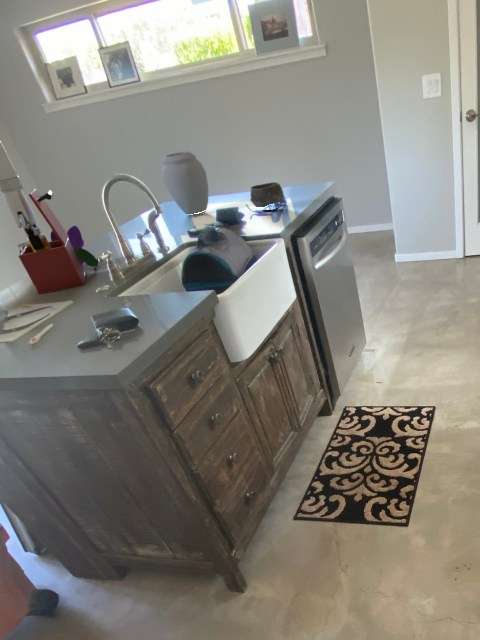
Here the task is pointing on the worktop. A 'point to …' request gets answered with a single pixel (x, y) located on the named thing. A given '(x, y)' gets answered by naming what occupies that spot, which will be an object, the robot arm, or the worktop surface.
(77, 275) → the red hollow box
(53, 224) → the lid
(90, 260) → the flower
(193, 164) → the vase
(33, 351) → the worktop surface
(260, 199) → the bowl
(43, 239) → the supplement bottle
